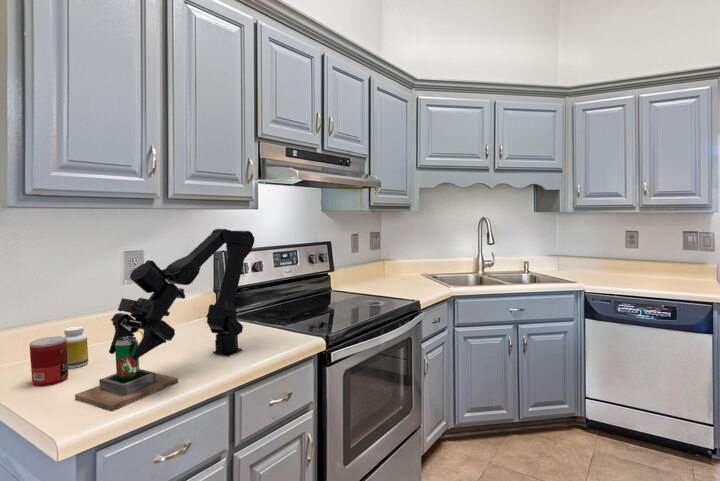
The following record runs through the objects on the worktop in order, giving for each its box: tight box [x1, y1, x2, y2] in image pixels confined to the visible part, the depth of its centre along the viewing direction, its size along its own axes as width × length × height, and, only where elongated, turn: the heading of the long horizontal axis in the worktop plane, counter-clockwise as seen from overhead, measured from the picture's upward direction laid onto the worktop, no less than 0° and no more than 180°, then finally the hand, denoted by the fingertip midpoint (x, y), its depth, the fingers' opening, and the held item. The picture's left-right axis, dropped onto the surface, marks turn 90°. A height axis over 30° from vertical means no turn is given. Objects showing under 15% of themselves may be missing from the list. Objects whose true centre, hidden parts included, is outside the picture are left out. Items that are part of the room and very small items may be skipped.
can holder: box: [74, 368, 179, 412], centre depth 110 cm, size 18×14×4 cm
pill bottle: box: [63, 325, 89, 369], centre depth 128 cm, size 6×6×11 cm
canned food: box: [29, 335, 69, 387], centre depth 116 cm, size 8×8×11 cm
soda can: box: [114, 336, 140, 384], centre depth 109 cm, size 5×5×12 cm
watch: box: [135, 329, 144, 345], centre depth 145 cm, size 6×3×6 cm, turn 142°
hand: (121, 356), depth 108 cm, fingers open, 9 cm apart
